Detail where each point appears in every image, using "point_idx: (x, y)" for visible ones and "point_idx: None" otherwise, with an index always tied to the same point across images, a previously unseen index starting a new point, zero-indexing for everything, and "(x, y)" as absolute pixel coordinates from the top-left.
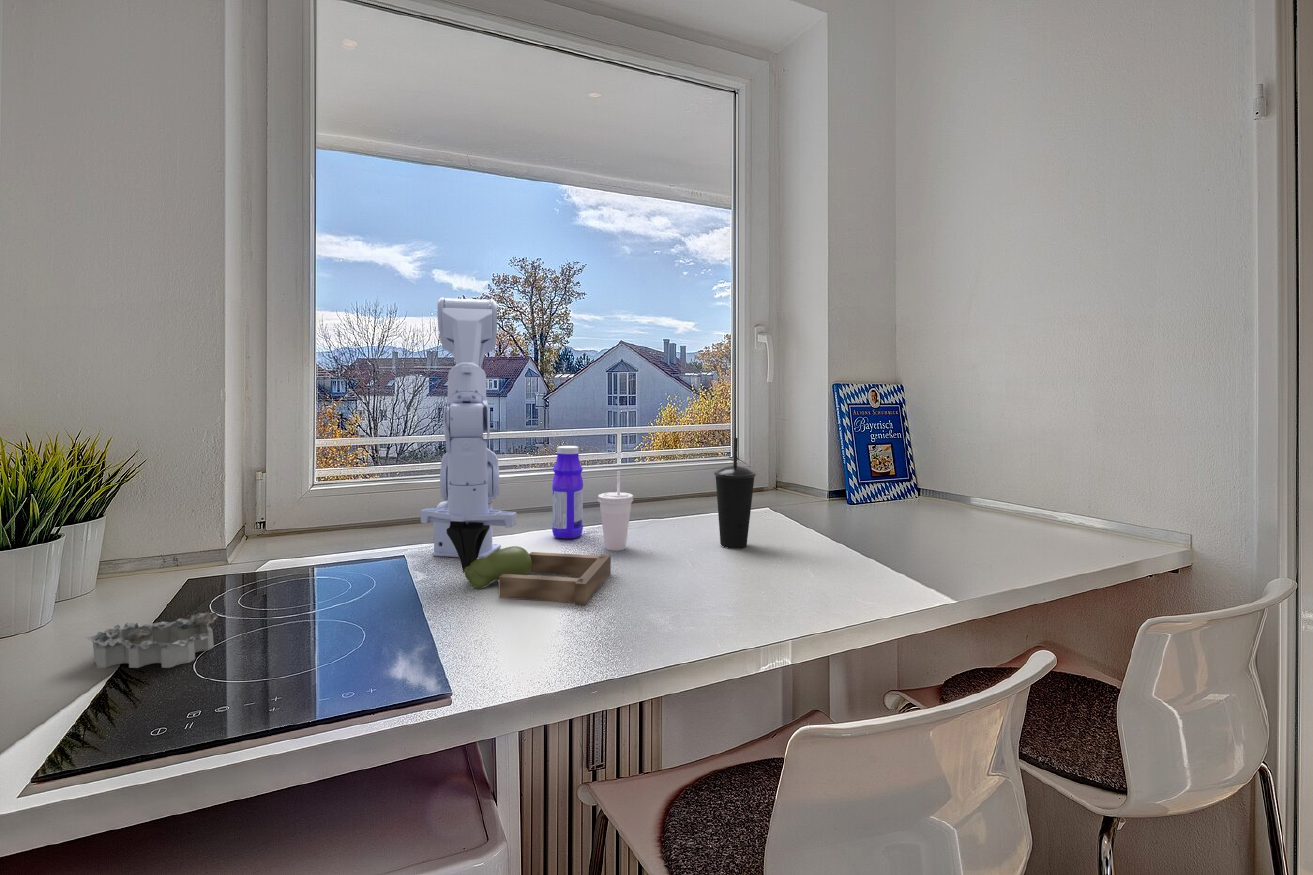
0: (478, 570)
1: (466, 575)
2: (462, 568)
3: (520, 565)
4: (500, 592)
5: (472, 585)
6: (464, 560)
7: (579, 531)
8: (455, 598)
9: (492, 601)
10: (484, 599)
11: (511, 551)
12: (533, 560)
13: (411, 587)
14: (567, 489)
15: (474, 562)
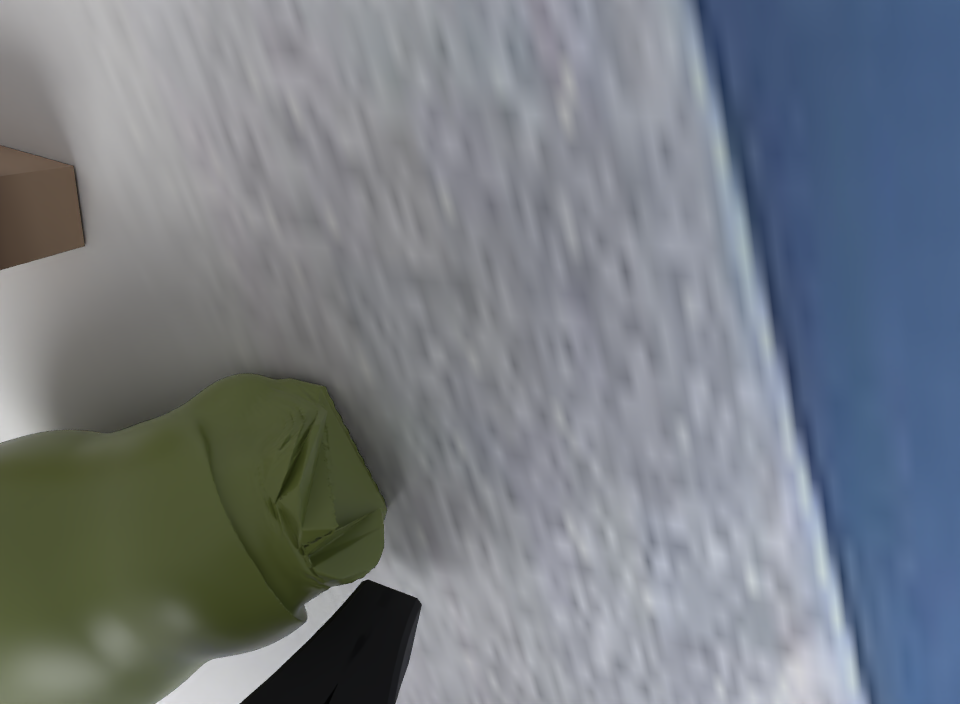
0: (180, 460)
1: (360, 517)
2: (406, 624)
3: None
4: (23, 169)
5: (313, 396)
6: (345, 674)
7: None
8: (387, 166)
9: (79, 75)
10: (156, 130)
11: None
12: None
13: (857, 505)
14: None
15: (207, 575)
